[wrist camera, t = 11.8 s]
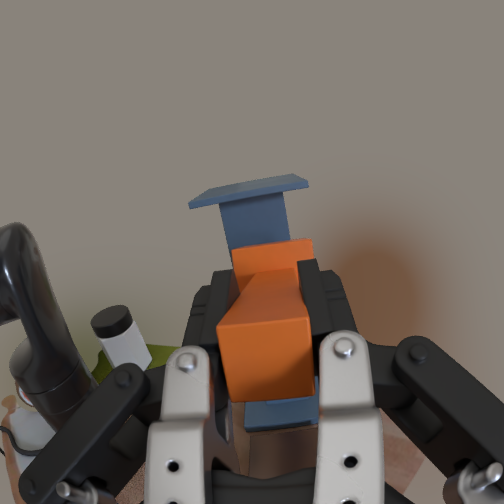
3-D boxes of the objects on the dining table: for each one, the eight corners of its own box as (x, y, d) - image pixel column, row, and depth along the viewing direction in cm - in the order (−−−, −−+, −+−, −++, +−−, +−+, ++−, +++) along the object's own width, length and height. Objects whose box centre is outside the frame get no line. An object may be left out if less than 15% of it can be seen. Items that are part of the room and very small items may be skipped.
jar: (152, 348, 54) (131, 300, 51) (153, 371, 47) (129, 319, 43) (115, 358, 52) (92, 311, 48) (112, 382, 45) (84, 331, 41)
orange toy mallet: (187, 403, 7) (157, 270, 7) (251, 293, 24) (244, 246, 23) (362, 388, 7) (354, 244, 6) (310, 285, 23) (304, 238, 23)
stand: (246, 432, 32) (175, 206, 22) (248, 379, 42) (201, 190, 33) (335, 419, 31) (320, 179, 21) (322, 368, 41) (301, 172, 32)
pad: (250, 525, 18) (246, 522, 17) (253, 443, 30) (250, 435, 29) (336, 516, 17) (337, 512, 17) (322, 434, 29) (322, 426, 29)
